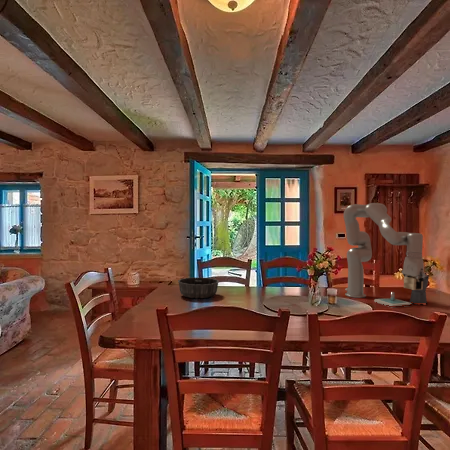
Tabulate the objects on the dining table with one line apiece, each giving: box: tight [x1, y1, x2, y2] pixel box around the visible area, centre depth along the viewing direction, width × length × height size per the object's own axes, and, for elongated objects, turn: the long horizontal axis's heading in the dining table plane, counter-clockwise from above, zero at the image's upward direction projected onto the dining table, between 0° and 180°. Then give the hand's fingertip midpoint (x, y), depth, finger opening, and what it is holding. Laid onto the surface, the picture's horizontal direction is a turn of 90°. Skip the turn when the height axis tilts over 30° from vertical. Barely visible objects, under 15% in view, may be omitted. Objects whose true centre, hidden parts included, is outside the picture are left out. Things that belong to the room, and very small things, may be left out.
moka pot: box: [409, 274, 430, 304], centre depth 200 cm, size 10×15×20 cm, turn 15°
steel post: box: [390, 291, 396, 301], centre depth 198 cm, size 2×2×5 cm
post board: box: [374, 297, 413, 307], centre depth 198 cm, size 14×14×2 cm
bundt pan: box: [177, 276, 220, 299], centre depth 216 cm, size 26×26×10 cm
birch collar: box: [403, 276, 423, 291], centre depth 186 cm, size 6×6×6 cm
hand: (413, 287), depth 186 cm, fingers closed on birch collar, 6 cm apart
